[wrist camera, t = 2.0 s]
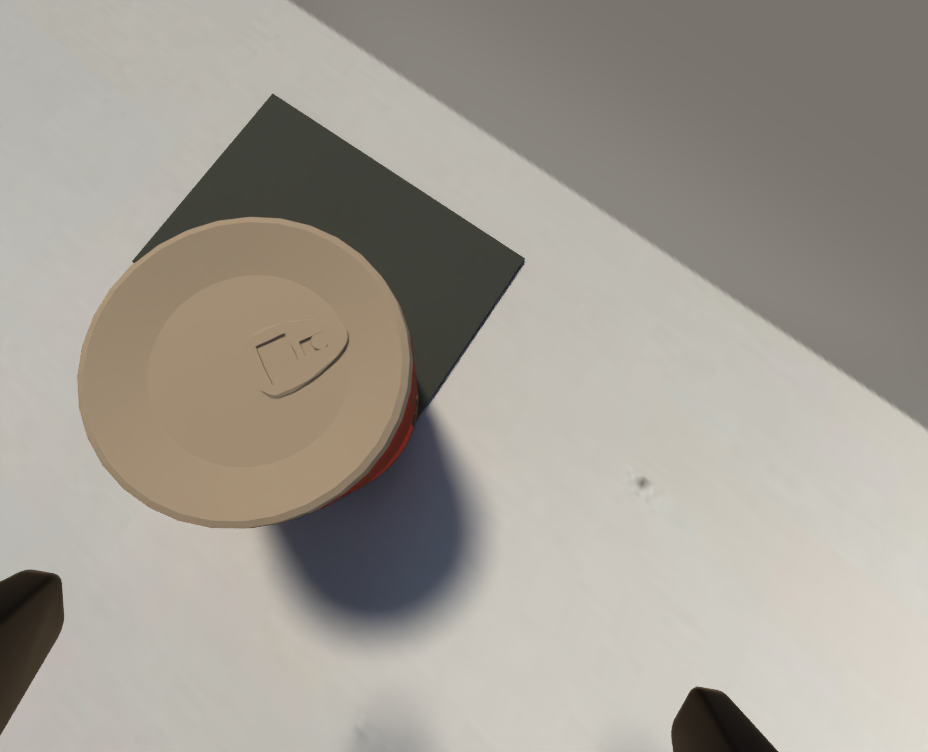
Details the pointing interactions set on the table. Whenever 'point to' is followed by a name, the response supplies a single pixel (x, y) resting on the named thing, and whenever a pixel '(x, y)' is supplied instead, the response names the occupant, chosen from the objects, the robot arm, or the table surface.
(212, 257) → the canned food
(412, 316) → the mat
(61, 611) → the robot arm
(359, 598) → the table surface
